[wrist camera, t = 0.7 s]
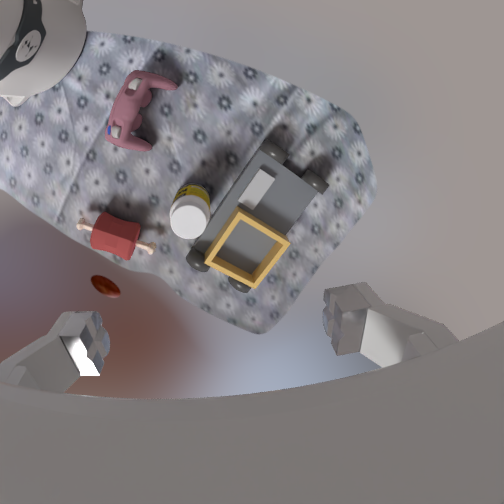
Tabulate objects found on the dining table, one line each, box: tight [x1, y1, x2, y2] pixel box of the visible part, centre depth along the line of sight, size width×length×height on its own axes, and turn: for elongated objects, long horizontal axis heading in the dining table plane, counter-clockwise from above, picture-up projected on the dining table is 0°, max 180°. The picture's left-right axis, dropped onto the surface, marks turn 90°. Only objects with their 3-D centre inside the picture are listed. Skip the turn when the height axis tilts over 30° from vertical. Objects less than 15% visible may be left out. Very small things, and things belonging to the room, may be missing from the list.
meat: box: [77, 212, 156, 260], centre depth 36 cm, size 12×5×5 cm, turn 66°
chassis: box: [186, 139, 329, 293], centre depth 39 cm, size 11×19×4 cm, turn 145°
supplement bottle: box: [170, 184, 210, 239], centre depth 34 cm, size 5×5×8 cm
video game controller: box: [105, 70, 178, 151], centre depth 29 cm, size 10×5×7 cm, turn 155°
